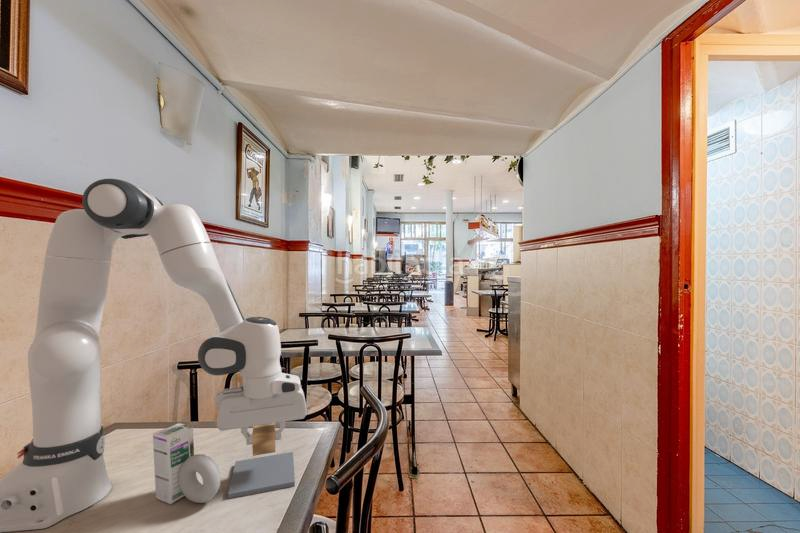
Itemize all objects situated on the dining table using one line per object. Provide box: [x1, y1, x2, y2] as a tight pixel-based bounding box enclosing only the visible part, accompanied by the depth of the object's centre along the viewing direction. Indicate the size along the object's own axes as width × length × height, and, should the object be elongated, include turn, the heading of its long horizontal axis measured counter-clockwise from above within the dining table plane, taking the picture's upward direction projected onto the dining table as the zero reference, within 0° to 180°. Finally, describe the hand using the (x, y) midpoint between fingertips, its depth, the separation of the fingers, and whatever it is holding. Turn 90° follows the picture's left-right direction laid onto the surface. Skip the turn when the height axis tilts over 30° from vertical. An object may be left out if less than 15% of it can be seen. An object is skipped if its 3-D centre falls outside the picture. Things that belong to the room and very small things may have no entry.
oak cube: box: [251, 423, 277, 457], centre depth 89 cm, size 5×5×5 cm
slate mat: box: [227, 451, 296, 499], centre depth 89 cm, size 14×14×1 cm
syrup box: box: [152, 422, 195, 505], centre depth 82 cm, size 6×6×14 cm
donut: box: [179, 453, 222, 504], centre depth 79 cm, size 10×3×10 cm, turn 73°
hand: (264, 441), depth 89 cm, fingers closed on oak cube, 5 cm apart
